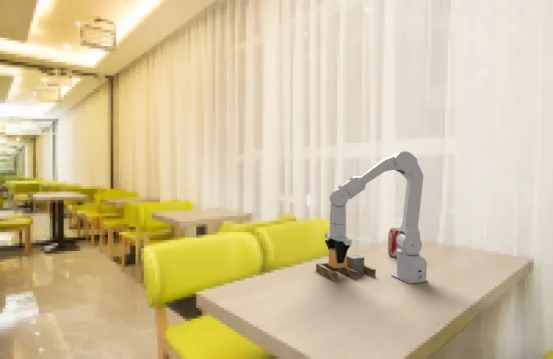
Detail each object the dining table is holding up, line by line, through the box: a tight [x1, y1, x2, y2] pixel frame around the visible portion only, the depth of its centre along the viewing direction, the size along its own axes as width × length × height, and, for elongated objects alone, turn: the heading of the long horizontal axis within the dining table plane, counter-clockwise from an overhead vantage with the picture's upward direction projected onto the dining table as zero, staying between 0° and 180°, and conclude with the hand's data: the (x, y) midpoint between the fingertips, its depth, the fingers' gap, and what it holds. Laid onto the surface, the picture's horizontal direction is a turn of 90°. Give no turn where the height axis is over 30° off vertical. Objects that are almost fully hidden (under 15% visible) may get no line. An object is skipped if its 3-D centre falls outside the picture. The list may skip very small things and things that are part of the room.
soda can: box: [387, 227, 400, 258], centre depth 147 cm, size 7×7×12 cm
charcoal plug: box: [347, 254, 365, 276], centre depth 121 cm, size 4×5×6 cm
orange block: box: [328, 248, 348, 268], centre depth 118 cm, size 4×5×6 cm
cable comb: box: [315, 262, 377, 282], centre depth 120 cm, size 13×17×2 cm
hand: (336, 261), depth 118 cm, fingers closed on orange block, 4 cm apart
